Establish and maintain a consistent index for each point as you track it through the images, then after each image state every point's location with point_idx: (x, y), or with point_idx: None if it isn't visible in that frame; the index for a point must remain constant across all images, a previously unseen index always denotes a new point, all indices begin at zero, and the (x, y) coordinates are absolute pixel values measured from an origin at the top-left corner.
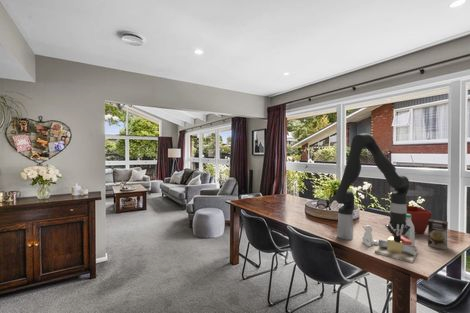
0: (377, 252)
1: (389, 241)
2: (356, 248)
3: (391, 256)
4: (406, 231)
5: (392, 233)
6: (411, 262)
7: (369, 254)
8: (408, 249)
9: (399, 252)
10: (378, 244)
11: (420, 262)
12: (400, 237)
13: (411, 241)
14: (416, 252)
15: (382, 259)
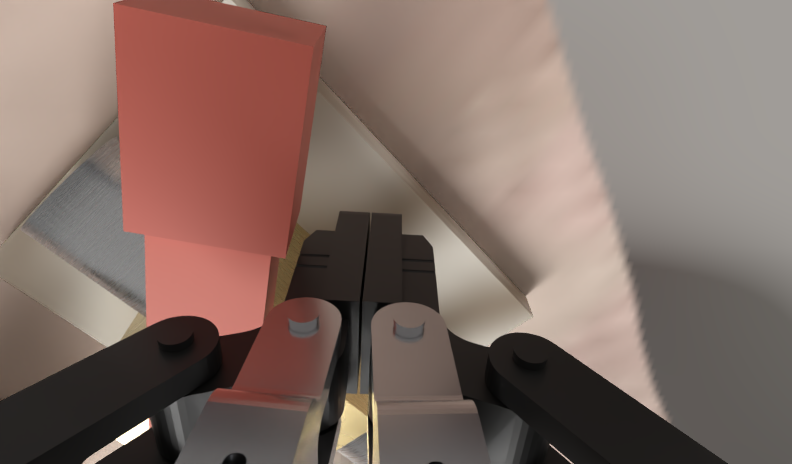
0: (511, 287)
1: (358, 382)
2: (636, 398)
3: (412, 182)
4: (15, 412)
5: (586, 375)
6: (245, 2)
7: (622, 264)
8: None
9: None
10: None
11: (103, 4)
12: (297, 288)
13: (117, 15)
14: (13, 238)
15: (579, 128)
